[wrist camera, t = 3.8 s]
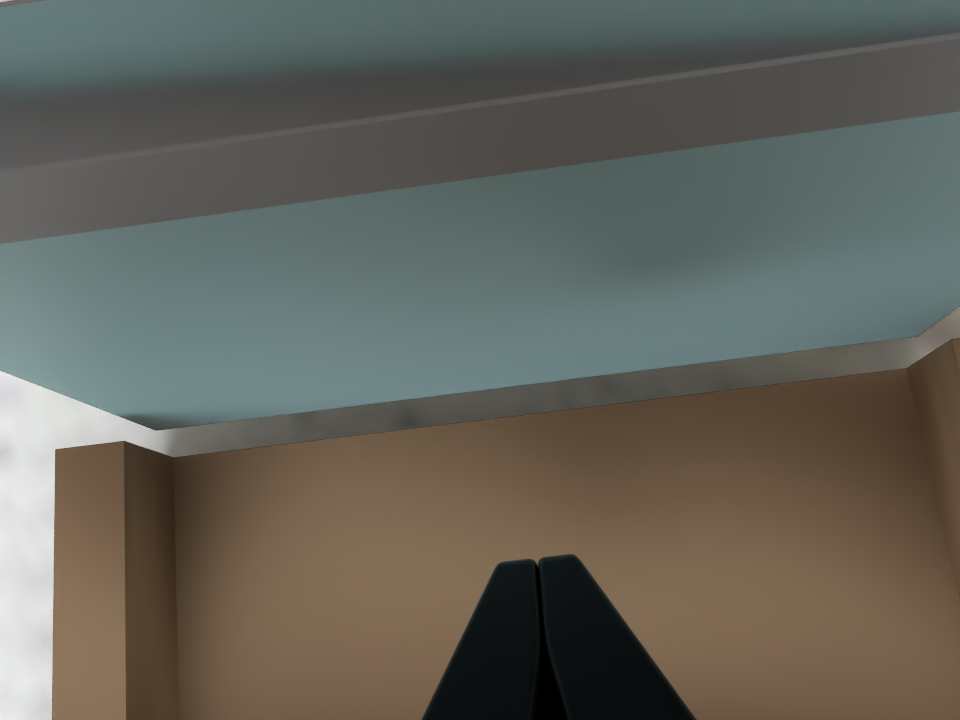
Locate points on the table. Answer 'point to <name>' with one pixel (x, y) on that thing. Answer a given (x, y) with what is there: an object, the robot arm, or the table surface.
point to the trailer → (529, 555)
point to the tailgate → (461, 192)
